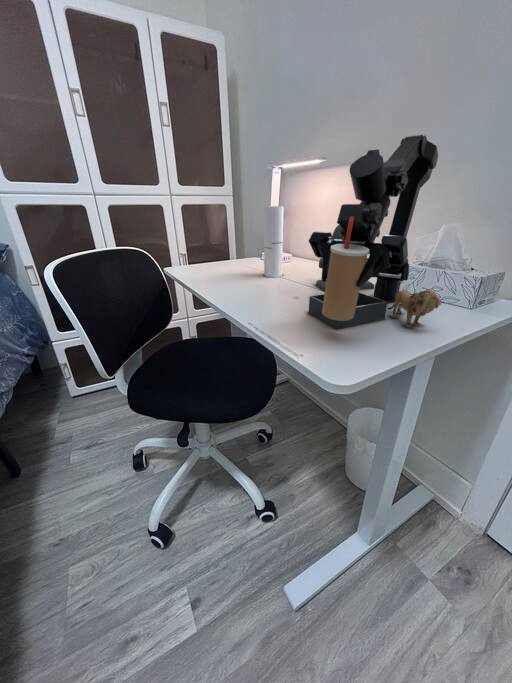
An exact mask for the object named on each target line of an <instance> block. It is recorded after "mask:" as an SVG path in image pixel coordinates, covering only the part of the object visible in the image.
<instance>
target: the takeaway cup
mask: <svg viewBox="0 0 512 683" xmlns="http://www.w3.org/2000/svg"><path fill="white" fill-rule="evenodd" d="M353 221H354V217H350V218H349V223H348V228H347V234H346V240H345V244H335V245H332V246H331V249H330V250H331V256H330V262H329V269H328V276H327V279H326V280H327V282H326V289H325V291H324V294H325V295H324V302H323V308H322V314H323V315H324V316H325V317H327V318H329V319H333V320H338V321H347V320H350V319H352V318H353V317H354V314H355V309H356V304H357V300H358V295H359V292H361V289H360V287H357V282H358V279H359V277H360V275H361V273H362V271H363V269H364V267H365V263H366V259H367V258H368V255H370V254H369V249H368V248H367V247H364V246H360V245H355V244H349V243H350V238H351V232H352V227H353Z"/></svg>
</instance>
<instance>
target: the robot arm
mask: <svg viewBox="0 0 512 683" xmlns="http://www.w3.org/2000/svg"><path fill="white" fill-rule="evenodd" d="M438 159H439V152H438V145H436V144H434V143H433V142H431V141H429V140H428V138H427V135H423V134H417V135H411V136H410V135H409V136H406V137H403V138H402V139H401V141H400V144H399V146H398V147H397V148H396V149H395V151H394V152H393V153H392V154H391V155H390V156H389V157H388V159H387V160H386V161H384V157H383V156H382V155H381V153H380V149H370V150H368V151H367V152H366V154H364V155H362V156H360V157H358V158H357V159H356V160H354V162H352V163H351V164H350V165H349V166H350V167H349V175H350V180H351V184H352V188H353V193H354V196H355V200H358V201H360V203H344V204H341V205H340V210H339V213H338V217H337V220H336V224H338V225H339V224H340V226H341V227H342V230H341V235H342V236H344V237H345V238H344V240H340V239H333V237H332V235H333V233H332V232H331V231H313V232H312V233H311V235H310V237H309V239H308V243H309V245H310V248H311V250H312V251H313V252H312V253H313V254H314V256H315V257H317V258H319V259H321V258H323V265H322V268H321V280H322V281H323V282H325V281H326V280H327V276H328V269H329V262H330V256H331V250H330V249H331V246H332V245H335V244H345V240H346V234H347V228H348V223H349V218H350V217H354V221H353V227H352V232H351V238H350V243H349V244H355V245H360V246H364V247H367V248H368V249H369V254H368V255H369V256H368V258H369V259H368V261H367V263H366V265H365V267H364V269H363V271H362V273H361V275H360V277H359V279H358V282H357V287H361V286H362V285H363V284H364V283H366V282H367V281H370V279H371V278H376V281H375V283H374V288H373V289H374V290H373V294H369V295H370V296H373V297H376V298H378V299H381V300H384V301H387V302H388V303H390V302H395V298H396V295H397V293H398V292H399V291H400V288H401V284H402V282H404V281H408V280H409V274H410V263H409V257H408V256H409V249H408V248H409V247H408V239H407V238H408V237H407V236H408V233H409V230H410V227H411V226H410V225H411V224H412V219H413V215H414V212H415V208H416V205H417V201H418V198H419V194H420V191H421V188H422V187H423V186H424V185H425V184H426V183H427V182H428V181H429V180H430V178H431V176H432V173H433V170H434V169H436V167H437V163H438ZM397 197H398V200H397V203H396V207H395V211H394V214H393V218H392V220H391V221H392V222H391V225H390V230H389V233H388V234H384V235H383V236H382V238H381V242H375V241H376V239H377V238H379V237H380V235H381V230H380V229H381V228H382V225H383V222H384V220H385V218H387V217H388V215H389V208H390V206H391V201H392V200H391V198H397Z"/></svg>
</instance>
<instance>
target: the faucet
mask: <svg viewBox="0 0 512 683" xmlns="http://www.w3.org/2000/svg"><path fill="white" fill-rule="evenodd" d="M341 230H342V227H341V226H340V224H338V225H336V226H335V228H334V229H333V232H332V237H333V239H340V240H344V238H345V237H344V236H342V235H341ZM368 259H369V257H367V259H366V263H367V261H368ZM366 263H365V265H366ZM322 265H323V258H319V262H318V268H319V269H322ZM326 282H327V279H326V281H325V282H323V281H322V279H318V280H316V282H315V285H316V287H318V288H319V289H321V290H322V291H323V292H325V289H326ZM368 289H370V290H371V289H375V283H372V282H371V281H370V280H368V281H367V282H366V283H364V284H363V285H362V286H361V287H360V290H368Z"/></svg>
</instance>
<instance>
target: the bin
mask: <svg viewBox="0 0 512 683" xmlns="http://www.w3.org/2000/svg"><path fill="white" fill-rule="evenodd" d="M324 295H325V293H322V294H315V295H309V296H308V298H309V299H308V314H309V315H311V316H314V317H315V318H317V319H319V320H321V321H322V322H324V323H326V324H328V325H329V326H331V327H333V328H335V329H337V330H340V329H345V328H350V327H355V326H360V325H363V324H368V323H374V322H379V321H383V320H385V319H386V314H387V310H388V309H387V308H388V303H389V302H387V301H384V300H381V299H378V298H376V297H373V296H370V295H371V294H368V293H364V292H361V291H359V295H358V300H357V304H356V309H355V314H354V317H353V318H352V319H350V320H347V321H338V320H333V319H329V318H327V317H325V316H324V315H323V314H322V308H323V302H324Z"/></svg>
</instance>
